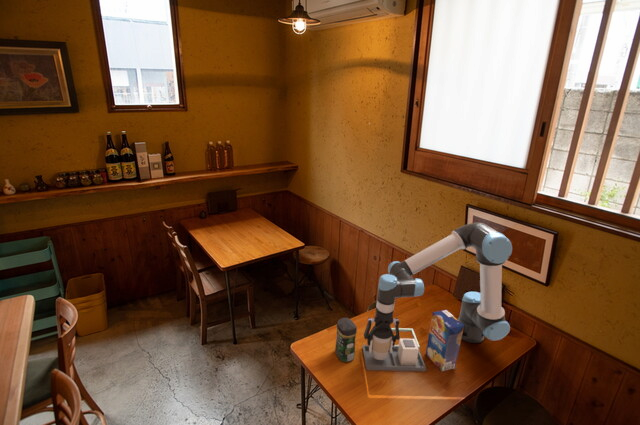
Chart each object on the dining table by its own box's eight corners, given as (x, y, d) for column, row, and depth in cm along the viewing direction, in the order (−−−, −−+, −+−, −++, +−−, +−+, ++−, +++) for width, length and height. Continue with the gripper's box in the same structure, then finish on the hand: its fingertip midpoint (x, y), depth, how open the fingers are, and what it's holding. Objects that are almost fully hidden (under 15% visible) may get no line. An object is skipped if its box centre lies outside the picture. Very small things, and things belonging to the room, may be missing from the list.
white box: (412, 354, 166) (414, 338, 162) (416, 365, 159) (418, 348, 156) (397, 354, 165) (399, 337, 162) (400, 365, 159) (403, 348, 156)
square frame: (412, 330, 183) (412, 328, 183) (419, 349, 170) (419, 346, 170) (386, 330, 183) (386, 327, 182) (391, 348, 170) (391, 346, 170)
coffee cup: (389, 363, 156) (392, 335, 151) (368, 360, 158) (371, 332, 153) (389, 349, 165) (393, 322, 159) (370, 346, 166) (373, 319, 161)
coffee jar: (332, 350, 167) (334, 317, 161) (347, 346, 170) (349, 314, 164) (341, 364, 159) (344, 330, 153) (356, 360, 162) (360, 326, 156)
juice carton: (455, 369, 159) (464, 325, 151) (441, 373, 156) (450, 328, 148) (438, 351, 169) (446, 309, 161) (425, 355, 167) (432, 312, 159)
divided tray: (416, 351, 169) (417, 346, 168) (425, 373, 156) (426, 367, 155) (362, 350, 168) (362, 344, 167) (366, 371, 156) (366, 366, 155)
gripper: (407, 304, 156) (401, 345, 164) (359, 303, 156) (355, 344, 164) (411, 314, 149) (405, 357, 157) (361, 313, 149) (357, 356, 157)
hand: (380, 350), depth 160 cm, fingers closed on coffee cup, 8 cm apart
